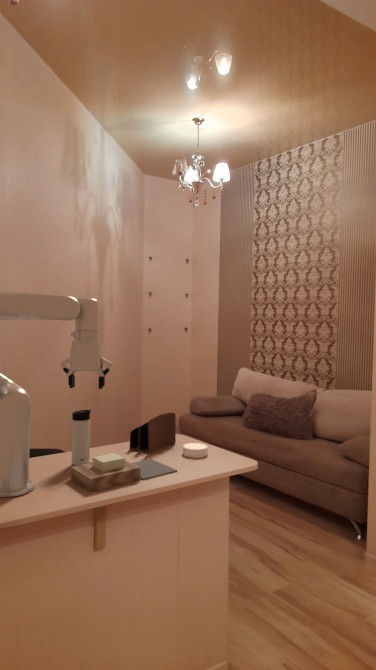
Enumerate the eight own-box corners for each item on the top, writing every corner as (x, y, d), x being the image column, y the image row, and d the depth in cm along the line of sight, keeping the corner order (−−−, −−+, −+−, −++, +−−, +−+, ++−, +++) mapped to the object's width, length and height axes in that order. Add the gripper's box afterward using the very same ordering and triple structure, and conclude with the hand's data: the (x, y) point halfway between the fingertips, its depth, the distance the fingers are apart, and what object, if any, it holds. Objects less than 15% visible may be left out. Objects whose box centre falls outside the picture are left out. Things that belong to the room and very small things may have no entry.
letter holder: (175, 443, 191) (176, 410, 191) (149, 454, 174) (149, 418, 174) (156, 439, 196) (157, 408, 196) (129, 450, 179) (129, 415, 179)
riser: (90, 492, 134) (90, 479, 134) (70, 479, 145) (70, 466, 145) (140, 479, 146) (140, 467, 145) (118, 468, 156) (118, 457, 156)
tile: (102, 471, 140) (103, 462, 140) (92, 466, 146) (92, 457, 146) (124, 467, 146) (124, 458, 145) (113, 461, 151) (113, 452, 151)
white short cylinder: (178, 452, 177) (178, 444, 177) (199, 449, 182) (199, 441, 182) (190, 459, 168) (190, 450, 168) (212, 456, 173) (212, 447, 173)
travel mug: (85, 468, 155) (86, 412, 155) (68, 467, 157) (69, 410, 156) (93, 463, 161) (93, 408, 161) (76, 461, 163) (77, 407, 162)
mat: (143, 480, 145) (143, 478, 145) (118, 467, 157) (118, 465, 157) (177, 471, 154) (177, 470, 154) (150, 460, 166) (150, 458, 166)
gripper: (56, 336, 142) (56, 389, 142) (109, 336, 141) (109, 390, 141) (65, 335, 149) (65, 385, 150) (115, 336, 148) (115, 386, 149)
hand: (86, 388), depth 146 cm, fingers open, 9 cm apart
